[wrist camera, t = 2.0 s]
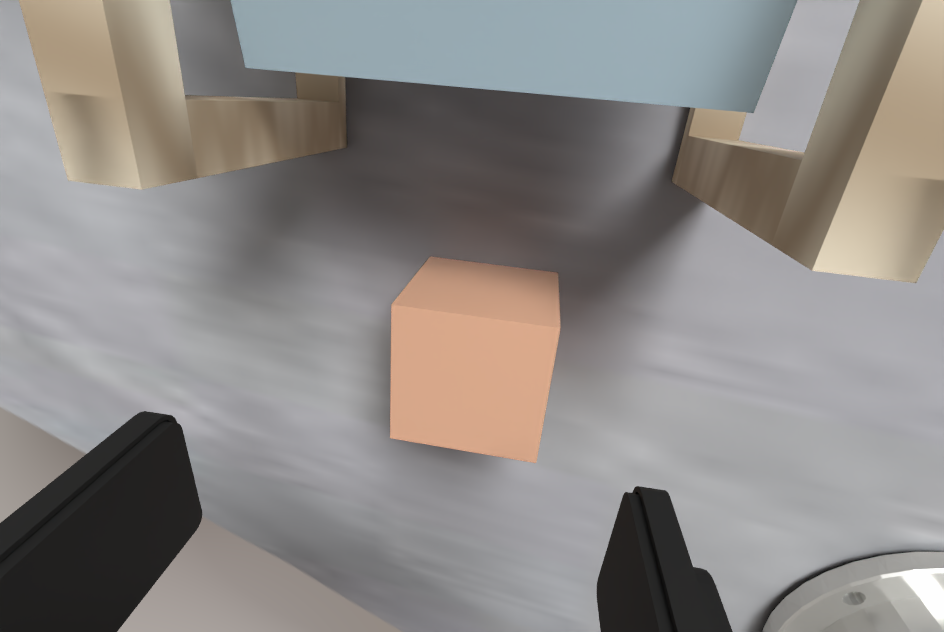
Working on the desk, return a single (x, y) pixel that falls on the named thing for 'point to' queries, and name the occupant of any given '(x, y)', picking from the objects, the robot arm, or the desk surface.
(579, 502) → the desk surface
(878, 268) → the frame
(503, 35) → the trapdoor plate
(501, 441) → the terracotta block
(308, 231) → the desk surface
